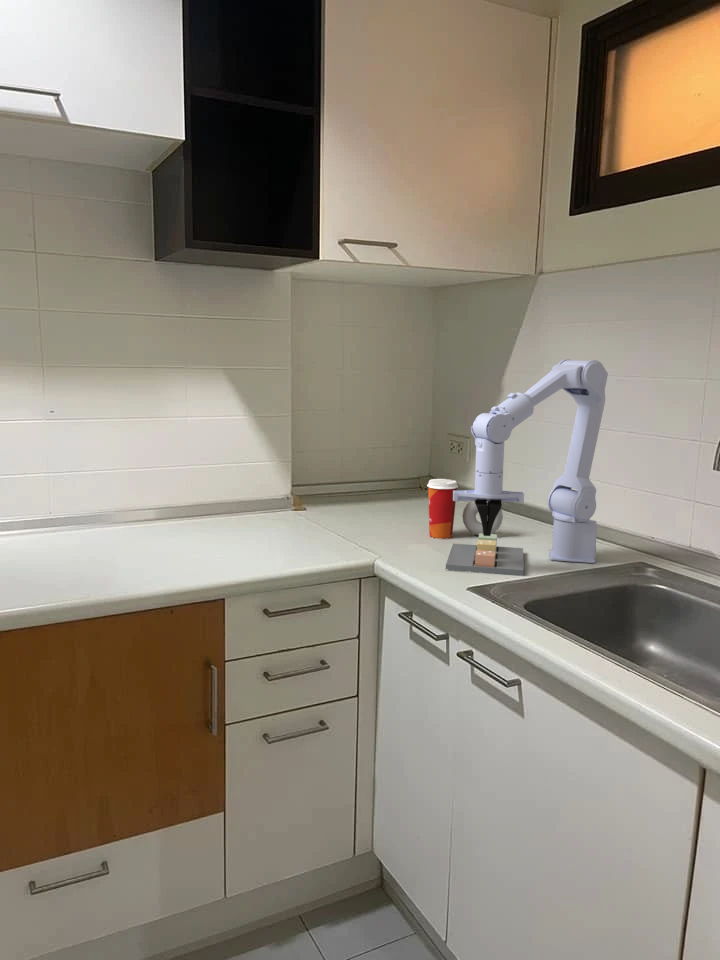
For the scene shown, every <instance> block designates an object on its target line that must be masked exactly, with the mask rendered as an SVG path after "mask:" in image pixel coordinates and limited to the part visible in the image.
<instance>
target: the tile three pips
mask: <svg viewBox="0 0 720 960" xmlns="http://www.w3.org/2000/svg"><path fill="white" fill-rule="evenodd" d="M495 560H496V559H495V551H484V550H476V554H475V565H474V566H482V567H496V566H495Z"/></svg>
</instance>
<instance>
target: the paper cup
mask: <svg viewBox="0 0 720 960" xmlns="http://www.w3.org/2000/svg"><path fill="white" fill-rule="evenodd" d="M426 486H427V487H428V488H427V489H428V490H427V491H428V494H427V495H428V497H427V498H428V525H429V526H428V530H429V531H428V532H429V537H430V538H432V537H433V538H432V539H436V538H438V539H437V540H447V539H446V538H448V539H451V538H452V537H453V532H454V530H453V529H454V521H455V512H456V503H457V501H453V491H458V490H457V489H458V488H459V486H458V482H457V481H456V480H454V479H447V478H433V479H429V480H428V483H427V484H426ZM439 538H441V539H439Z"/></svg>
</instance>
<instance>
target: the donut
mask: <svg viewBox="0 0 720 960" xmlns="http://www.w3.org/2000/svg"><path fill="white" fill-rule="evenodd" d="M487 505H488V501H487ZM477 514H479V512H478V509H477V507H476V504H475V502H474V501H468V503H467V504H466V505H465V506H464V508H463V511H462V516H461V517H462V522H463V525H464V527H465V528H466V529H467V530H468V531H469V533H471V534H473V535H474V536H478V537H479V533H483V528H482V522H480V521H478V520H477ZM503 519H504V516H503V510H502V508H501V509H500V511H499V513H498V514H497V516H496V519H495V521H494V524H493V526H492V530H491V534H494V533H496V532H497V530H499V529H500V527H501V525H502V524H503Z"/></svg>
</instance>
